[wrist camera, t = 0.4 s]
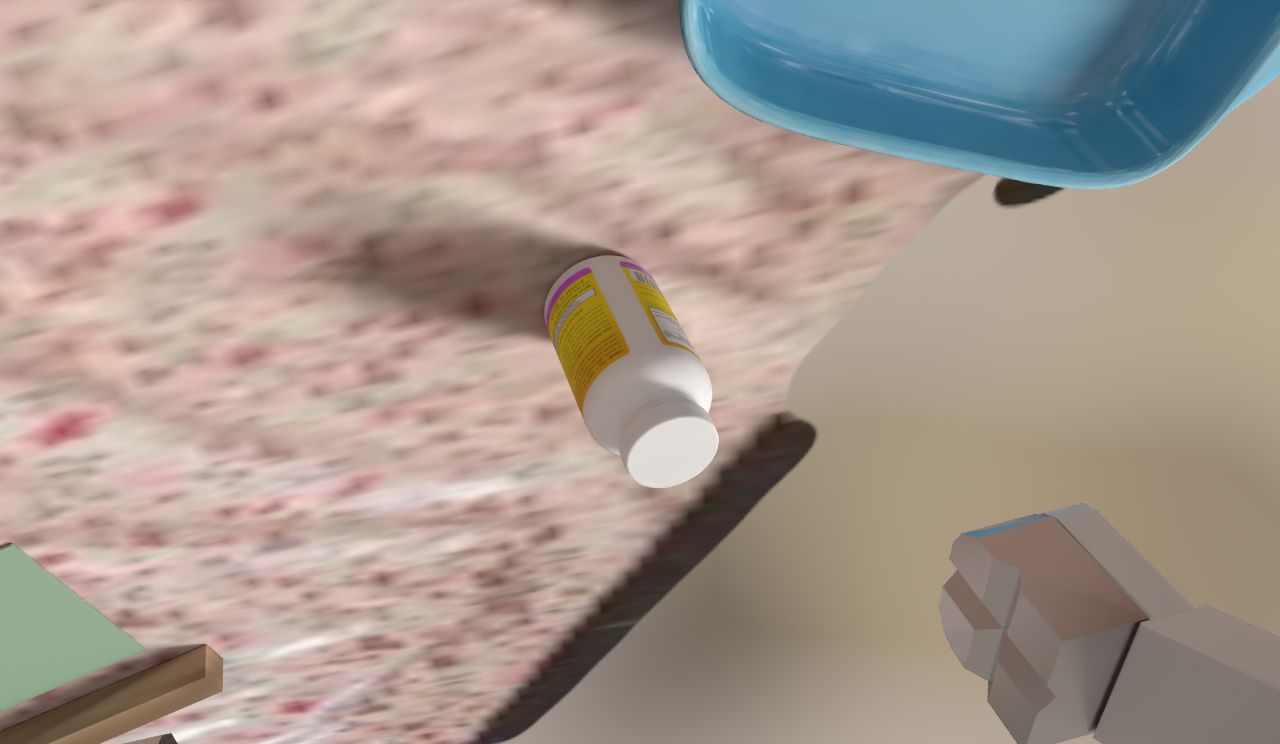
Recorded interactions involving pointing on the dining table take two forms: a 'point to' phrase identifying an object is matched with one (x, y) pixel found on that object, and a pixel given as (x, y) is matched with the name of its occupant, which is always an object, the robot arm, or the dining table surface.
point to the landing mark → (49, 632)
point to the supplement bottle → (632, 370)
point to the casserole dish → (992, 77)
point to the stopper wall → (126, 703)
